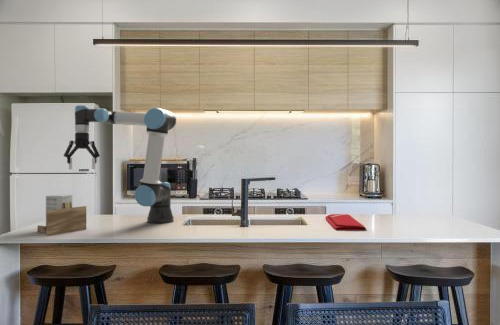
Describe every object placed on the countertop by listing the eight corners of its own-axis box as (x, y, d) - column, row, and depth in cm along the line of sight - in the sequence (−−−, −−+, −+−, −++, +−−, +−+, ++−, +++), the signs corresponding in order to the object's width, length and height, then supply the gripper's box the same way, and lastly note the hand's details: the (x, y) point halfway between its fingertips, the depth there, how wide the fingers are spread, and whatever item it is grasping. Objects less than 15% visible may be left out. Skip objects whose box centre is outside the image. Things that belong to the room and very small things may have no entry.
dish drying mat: (335, 231, 218) (335, 224, 218) (324, 220, 259) (324, 213, 259) (366, 231, 217) (366, 224, 217) (350, 220, 258) (350, 213, 258)
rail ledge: (86, 229, 223) (86, 206, 223) (48, 235, 204) (47, 210, 203) (67, 226, 230) (67, 204, 230) (28, 233, 211) (28, 208, 211)
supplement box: (61, 229, 214) (61, 196, 214) (45, 229, 216) (44, 195, 216) (73, 226, 223) (72, 194, 223) (57, 226, 225) (57, 194, 225)
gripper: (99, 133, 259) (99, 168, 259) (57, 131, 241) (57, 169, 242) (105, 133, 254) (105, 168, 254) (62, 131, 236) (62, 169, 236)
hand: (82, 169), depth 248 cm, fingers open, 13 cm apart
